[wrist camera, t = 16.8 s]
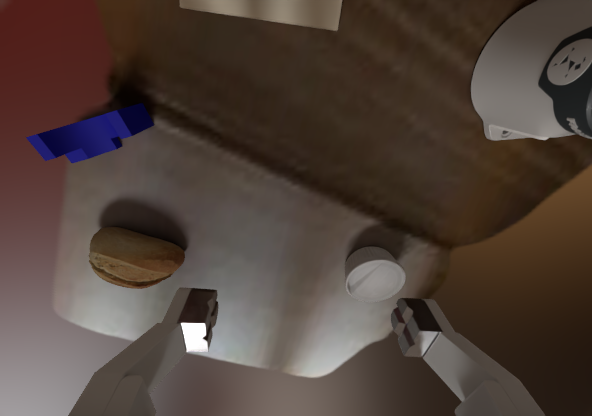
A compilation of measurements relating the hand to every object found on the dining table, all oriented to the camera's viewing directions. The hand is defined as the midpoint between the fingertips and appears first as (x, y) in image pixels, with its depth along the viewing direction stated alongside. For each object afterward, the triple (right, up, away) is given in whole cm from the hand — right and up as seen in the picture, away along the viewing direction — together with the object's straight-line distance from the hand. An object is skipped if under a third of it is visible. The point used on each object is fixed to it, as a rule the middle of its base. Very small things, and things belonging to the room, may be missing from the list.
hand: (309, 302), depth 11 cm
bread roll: (-28, -2, +34) cm, 45 cm away
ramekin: (+14, -7, +39) cm, 42 cm away
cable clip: (-27, +15, +24) cm, 39 cm away
